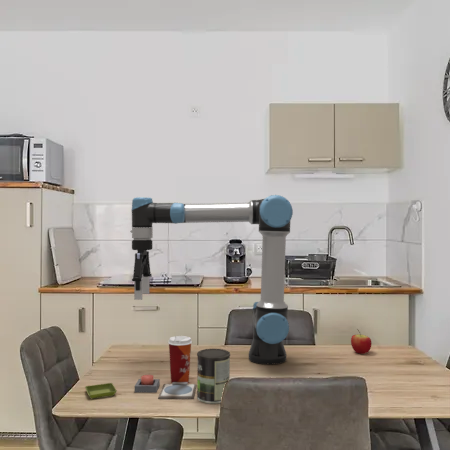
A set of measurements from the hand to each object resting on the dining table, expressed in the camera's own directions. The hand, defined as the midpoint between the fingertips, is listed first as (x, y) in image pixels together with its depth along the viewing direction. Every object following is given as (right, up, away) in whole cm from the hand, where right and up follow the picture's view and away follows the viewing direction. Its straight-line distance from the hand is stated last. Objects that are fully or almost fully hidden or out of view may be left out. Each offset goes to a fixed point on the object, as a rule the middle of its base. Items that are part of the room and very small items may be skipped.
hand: (142, 296), depth 178 cm
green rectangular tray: (-9, -28, -25) cm, 39 cm away
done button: (+5, -26, -20) cm, 33 cm away
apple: (+88, -28, +23) cm, 95 cm away
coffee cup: (+15, -27, -13) cm, 34 cm away
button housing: (+5, -27, -20) cm, 34 cm away
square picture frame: (+16, -27, -23) cm, 39 cm away
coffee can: (+27, -28, -28) cm, 48 cm away
